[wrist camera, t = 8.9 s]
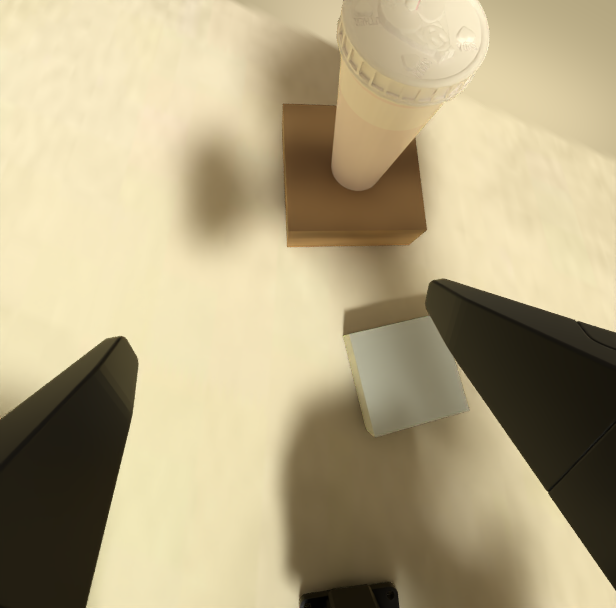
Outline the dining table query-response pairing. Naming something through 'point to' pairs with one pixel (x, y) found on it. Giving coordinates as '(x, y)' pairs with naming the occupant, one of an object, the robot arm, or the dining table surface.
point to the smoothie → (398, 76)
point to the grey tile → (404, 376)
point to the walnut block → (344, 189)
